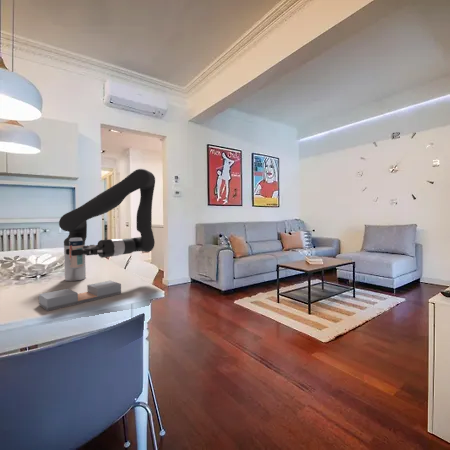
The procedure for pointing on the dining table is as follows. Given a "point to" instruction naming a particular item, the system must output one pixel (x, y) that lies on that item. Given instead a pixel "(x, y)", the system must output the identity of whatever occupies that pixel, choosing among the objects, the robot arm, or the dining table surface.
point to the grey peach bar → (78, 295)
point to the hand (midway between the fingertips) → (69, 252)
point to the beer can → (77, 260)
